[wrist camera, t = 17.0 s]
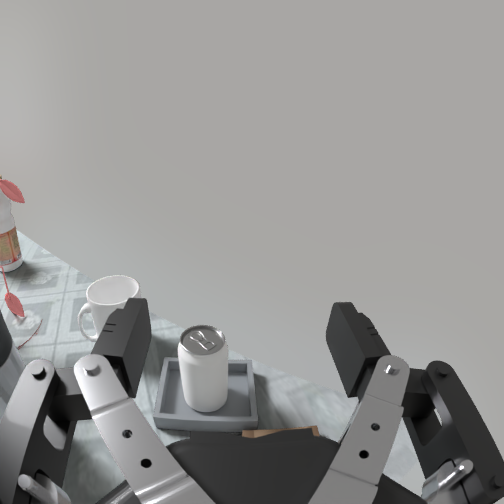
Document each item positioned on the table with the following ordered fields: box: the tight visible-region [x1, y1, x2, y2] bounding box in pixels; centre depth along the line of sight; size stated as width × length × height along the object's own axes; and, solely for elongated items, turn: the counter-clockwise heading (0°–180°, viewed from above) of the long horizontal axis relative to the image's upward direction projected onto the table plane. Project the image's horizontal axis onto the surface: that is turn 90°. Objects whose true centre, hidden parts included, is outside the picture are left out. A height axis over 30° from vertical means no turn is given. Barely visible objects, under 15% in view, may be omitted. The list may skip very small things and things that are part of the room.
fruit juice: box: [0, 175, 23, 272], centre depth 64 cm, size 9×9×28 cm
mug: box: [78, 275, 141, 342], centre depth 47 cm, size 9×12×12 cm
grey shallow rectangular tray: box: [153, 357, 258, 432], centre depth 41 cm, size 14×12×3 cm
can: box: [178, 325, 228, 412], centre depth 38 cm, size 6×6×12 cm
